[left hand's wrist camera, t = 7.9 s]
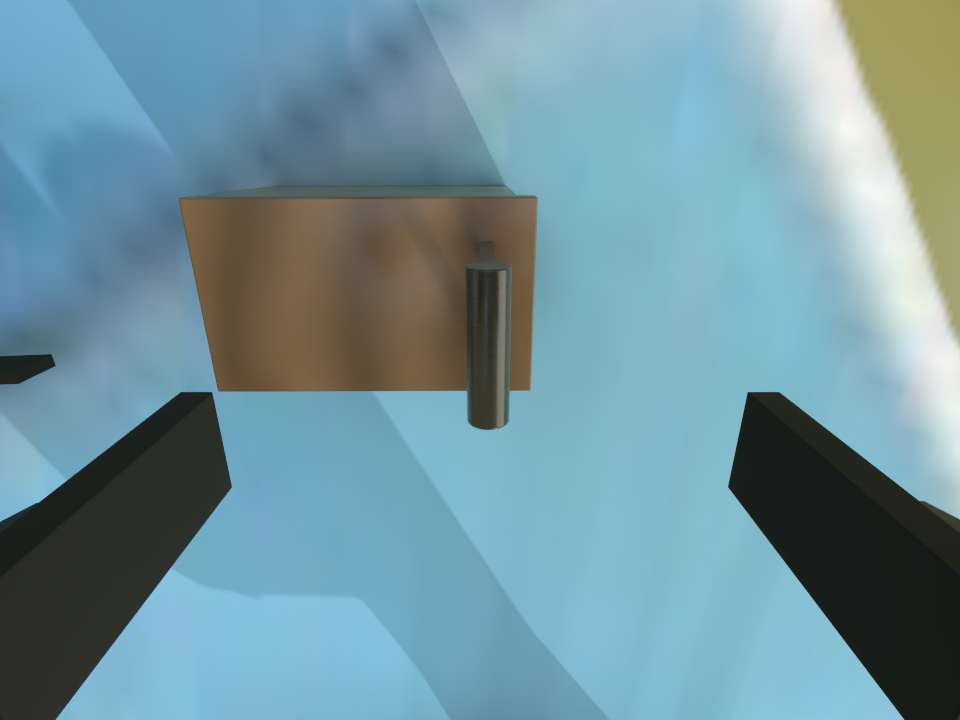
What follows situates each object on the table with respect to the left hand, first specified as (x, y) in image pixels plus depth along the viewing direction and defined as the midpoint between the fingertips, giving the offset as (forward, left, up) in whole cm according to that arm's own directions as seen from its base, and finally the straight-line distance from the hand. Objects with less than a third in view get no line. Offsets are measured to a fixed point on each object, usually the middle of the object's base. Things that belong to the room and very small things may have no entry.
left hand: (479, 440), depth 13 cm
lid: (+5, -1, -13) cm, 14 cm away
